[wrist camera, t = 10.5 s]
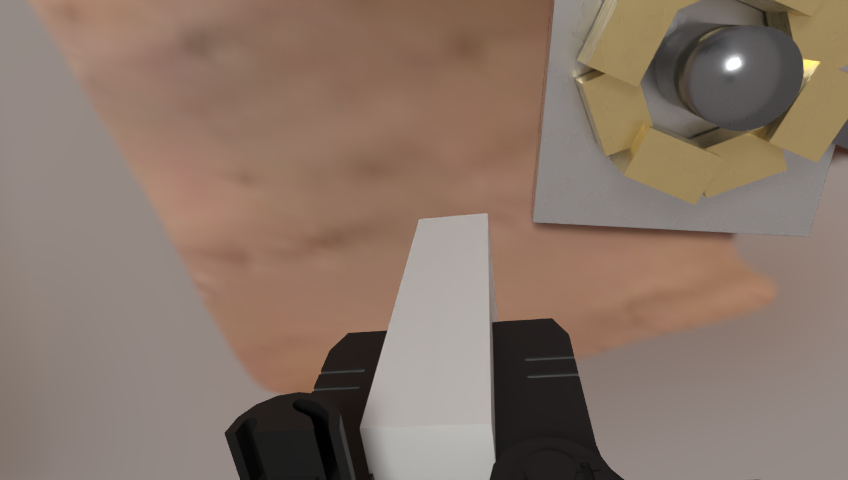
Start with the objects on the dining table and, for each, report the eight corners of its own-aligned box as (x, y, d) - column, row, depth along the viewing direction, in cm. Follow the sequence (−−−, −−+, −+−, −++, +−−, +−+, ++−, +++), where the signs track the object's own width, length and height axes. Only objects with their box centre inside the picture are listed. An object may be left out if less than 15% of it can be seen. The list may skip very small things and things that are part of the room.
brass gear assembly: (542, 131, 37) (552, 152, 31) (655, -106, 31) (691, -130, 26) (855, 260, 38) (919, 303, 32) (1016, 53, 32) (1125, 62, 27)
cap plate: (563, -129, 33) (589, -175, 25) (911, -128, 32) (1062, -178, 23) (530, 212, 41) (542, 264, 33) (807, 227, 39) (893, 284, 31)
